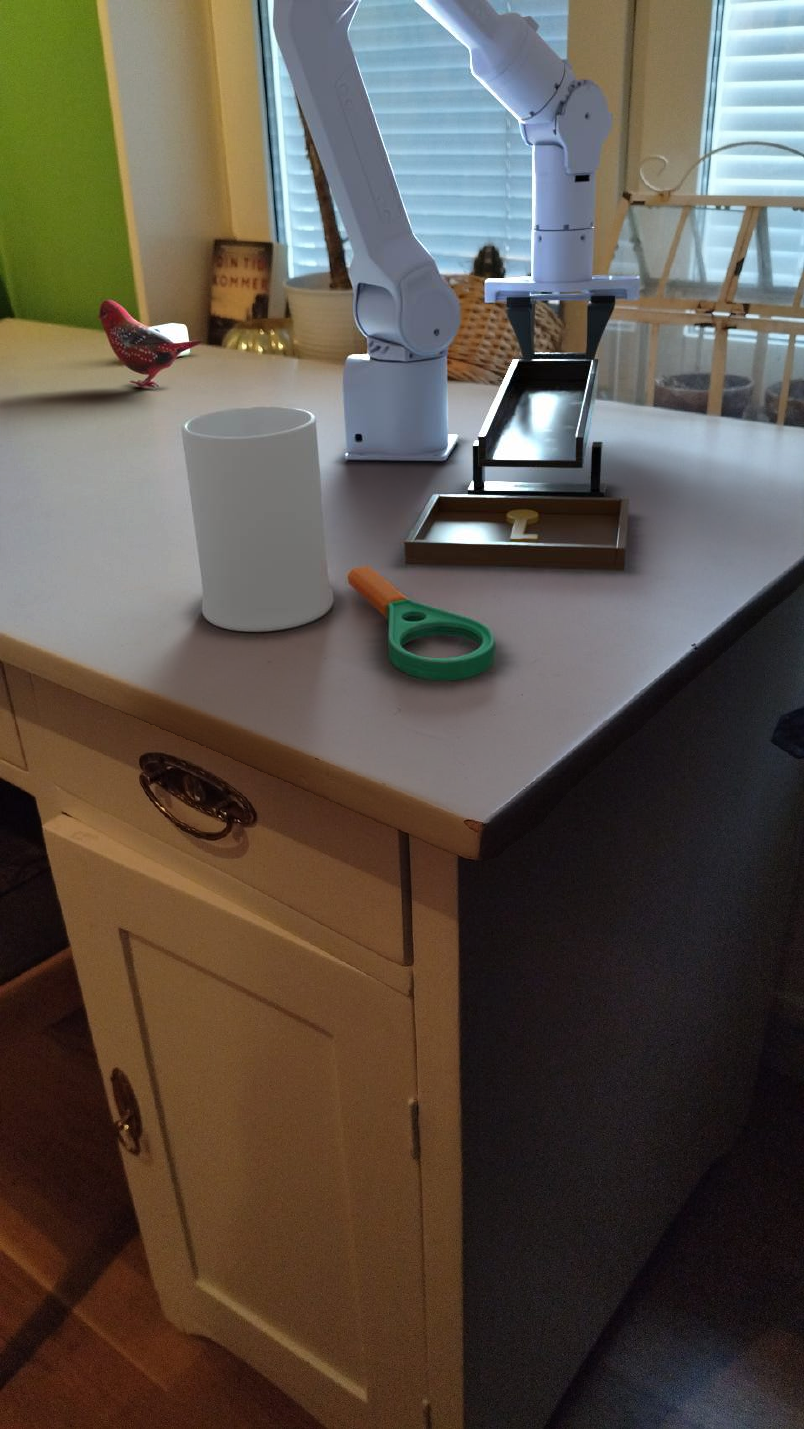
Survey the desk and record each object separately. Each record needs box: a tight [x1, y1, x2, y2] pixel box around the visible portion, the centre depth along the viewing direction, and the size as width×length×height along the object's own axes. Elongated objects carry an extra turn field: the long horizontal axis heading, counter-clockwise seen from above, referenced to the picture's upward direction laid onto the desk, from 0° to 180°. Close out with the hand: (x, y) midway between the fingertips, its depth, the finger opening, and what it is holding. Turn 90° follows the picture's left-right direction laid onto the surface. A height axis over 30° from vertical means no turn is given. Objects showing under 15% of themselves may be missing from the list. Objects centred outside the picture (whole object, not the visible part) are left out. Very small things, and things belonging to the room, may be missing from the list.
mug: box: [180, 406, 335, 633], centre depth 70 cm, size 12×8×12 cm
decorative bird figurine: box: [97, 299, 203, 388], centre depth 132 cm, size 3×18×10 cm, turn 54°
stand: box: [467, 440, 607, 498], centre depth 90 cm, size 11×2×4 cm, turn 79°
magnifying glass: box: [347, 565, 496, 682], centre depth 67 cm, size 15×6×2 cm, turn 25°
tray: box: [404, 493, 630, 571], centre depth 81 cm, size 15×11×2 cm
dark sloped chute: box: [477, 352, 600, 469], centre depth 96 cm, size 8×30×2 cm, turn 168°
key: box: [507, 509, 538, 543], centre depth 82 cm, size 3×7×1 cm, turn 170°
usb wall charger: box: [149, 322, 191, 358], centre depth 151 cm, size 4×7×4 cm, turn 136°
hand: (559, 378), depth 109 cm, fingers closed on dark sloped chute, 5 cm apart
